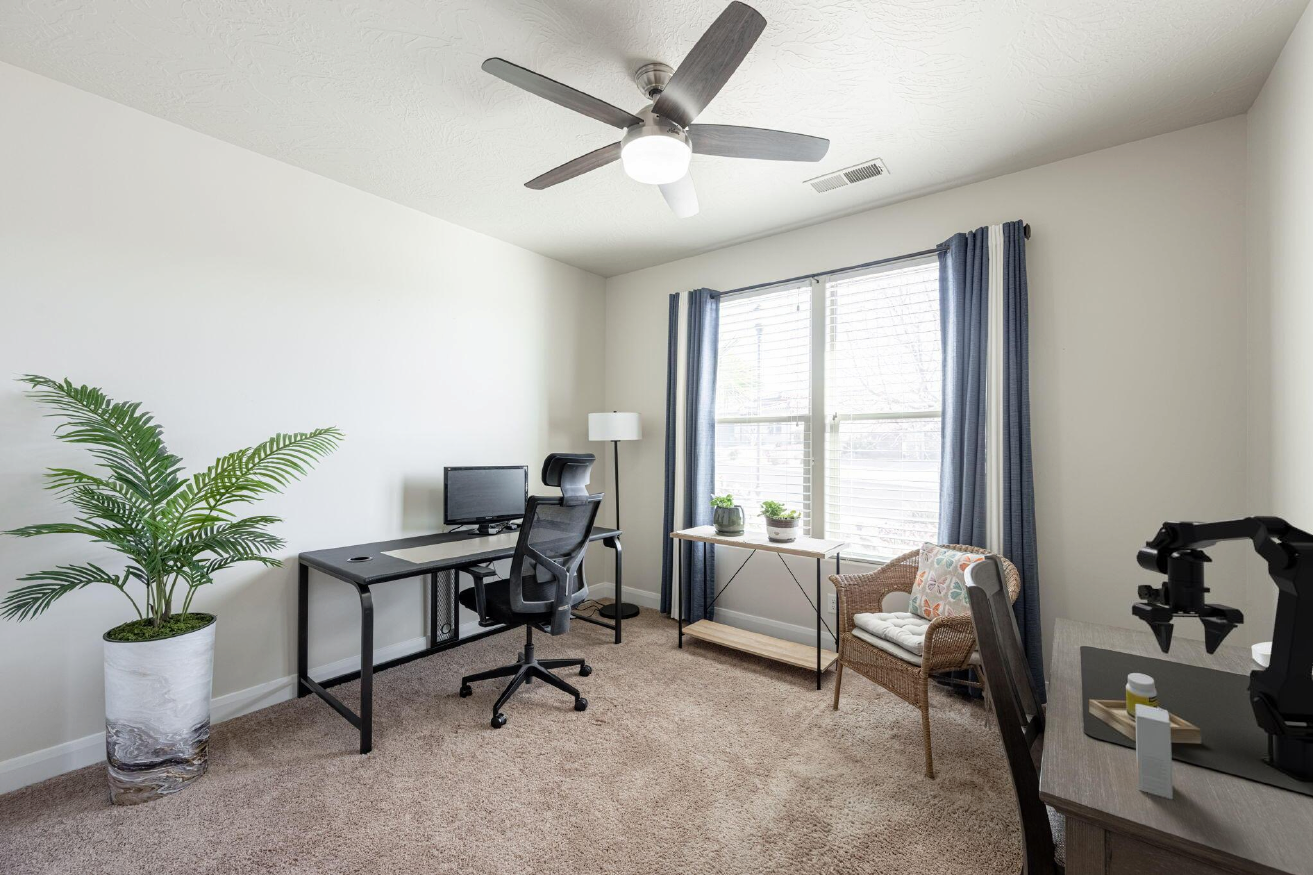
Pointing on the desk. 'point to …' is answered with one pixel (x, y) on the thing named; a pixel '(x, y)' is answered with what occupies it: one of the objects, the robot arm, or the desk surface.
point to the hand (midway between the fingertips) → (1187, 653)
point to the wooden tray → (1119, 720)
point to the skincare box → (1153, 751)
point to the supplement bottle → (1140, 693)
